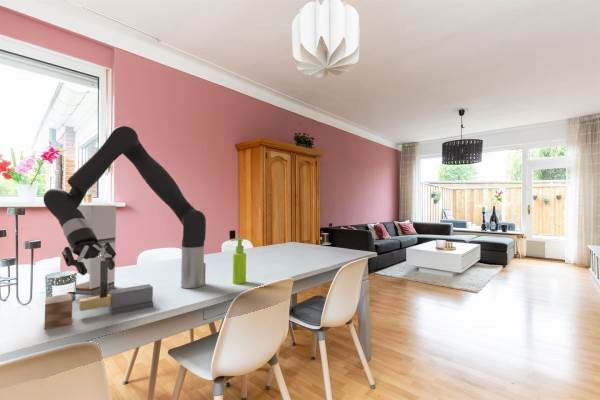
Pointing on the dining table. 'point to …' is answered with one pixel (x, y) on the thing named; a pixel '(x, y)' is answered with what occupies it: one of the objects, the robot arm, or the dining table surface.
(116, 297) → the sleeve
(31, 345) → the dining table surface
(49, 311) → the socket block
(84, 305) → the post on wooden plank
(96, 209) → the grey tall box
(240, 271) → the soap dispenser
